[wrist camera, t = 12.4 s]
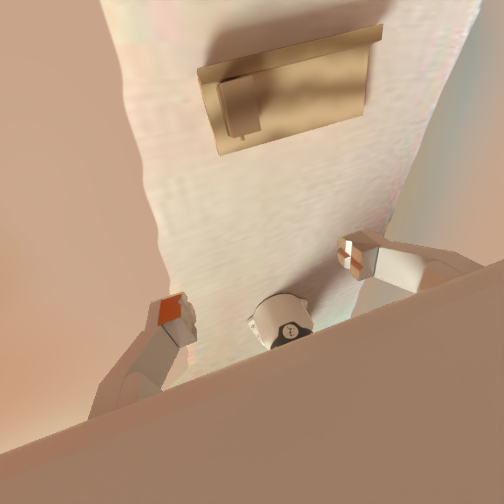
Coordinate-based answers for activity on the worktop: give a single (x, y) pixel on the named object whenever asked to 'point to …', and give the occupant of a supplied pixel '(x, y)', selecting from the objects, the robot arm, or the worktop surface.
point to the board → (294, 86)
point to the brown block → (239, 107)
